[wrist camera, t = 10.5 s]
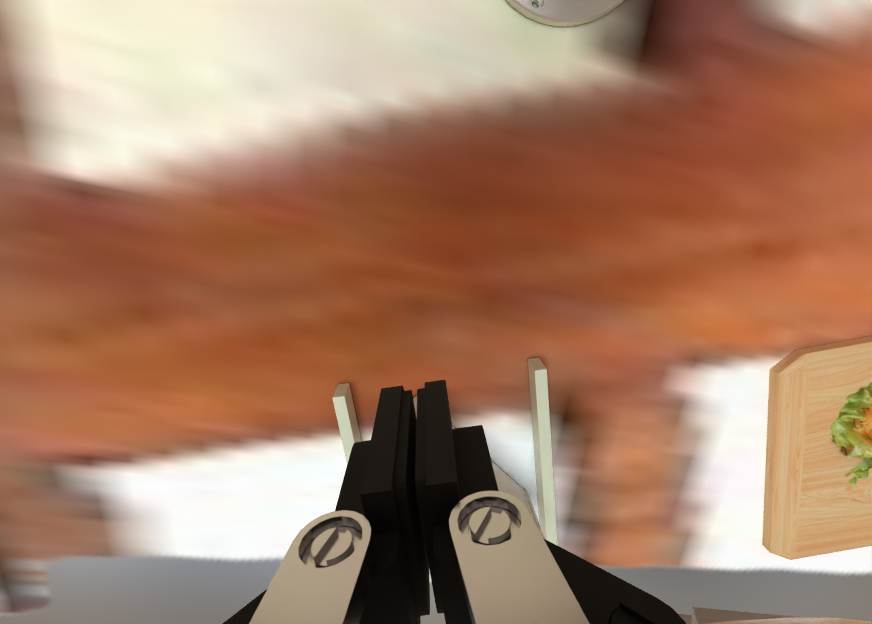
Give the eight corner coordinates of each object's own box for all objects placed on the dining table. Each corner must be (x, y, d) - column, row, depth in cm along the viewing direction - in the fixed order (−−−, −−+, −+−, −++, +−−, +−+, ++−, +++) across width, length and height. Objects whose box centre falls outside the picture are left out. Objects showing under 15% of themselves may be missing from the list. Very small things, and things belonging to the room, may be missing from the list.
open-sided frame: (538, 357, 38) (546, 368, 35) (551, 544, 44) (558, 565, 41) (338, 384, 38) (332, 397, 35) (377, 567, 44) (375, 589, 42)
